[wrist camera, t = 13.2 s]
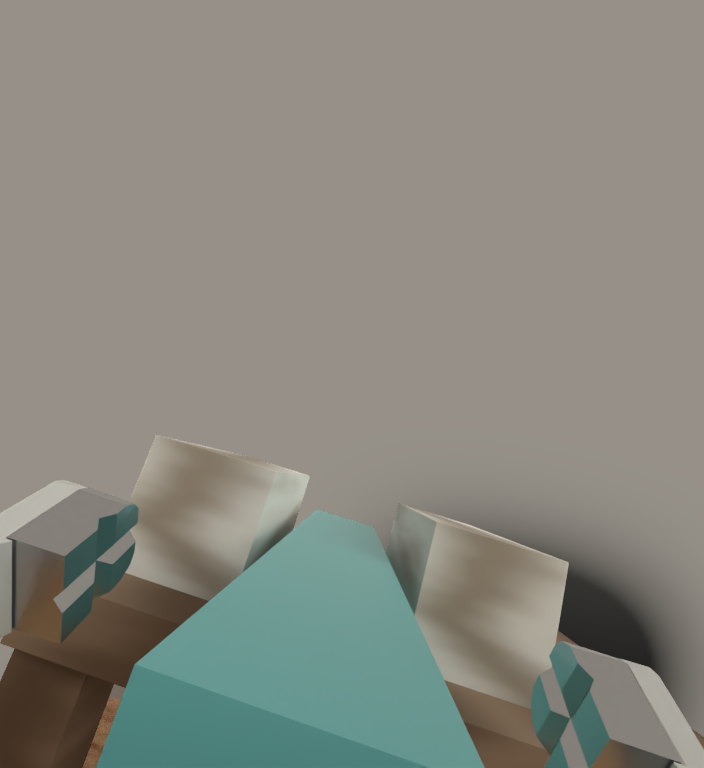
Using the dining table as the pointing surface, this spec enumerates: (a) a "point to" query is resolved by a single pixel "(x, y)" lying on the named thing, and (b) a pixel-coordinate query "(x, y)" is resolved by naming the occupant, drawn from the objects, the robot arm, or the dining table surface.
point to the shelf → (126, 636)
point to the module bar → (295, 670)
